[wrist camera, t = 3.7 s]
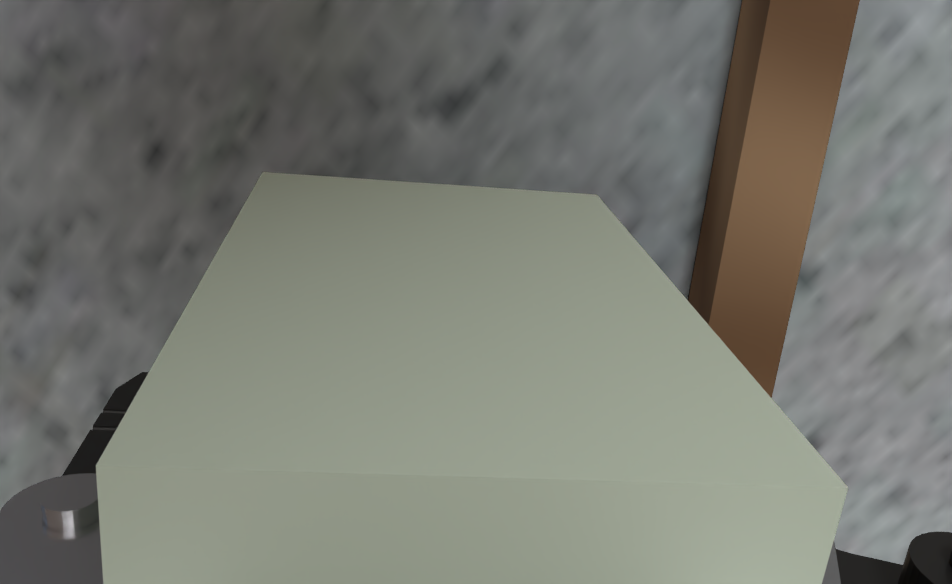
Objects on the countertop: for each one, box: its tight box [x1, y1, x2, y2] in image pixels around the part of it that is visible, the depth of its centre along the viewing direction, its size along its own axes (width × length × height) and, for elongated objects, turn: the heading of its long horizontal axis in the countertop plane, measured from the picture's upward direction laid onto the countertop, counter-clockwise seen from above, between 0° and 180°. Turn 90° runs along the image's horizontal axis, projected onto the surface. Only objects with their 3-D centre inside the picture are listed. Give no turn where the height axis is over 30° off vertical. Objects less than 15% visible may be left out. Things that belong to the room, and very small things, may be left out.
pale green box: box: [96, 172, 848, 584], centre depth 11 cm, size 6×5×8 cm
